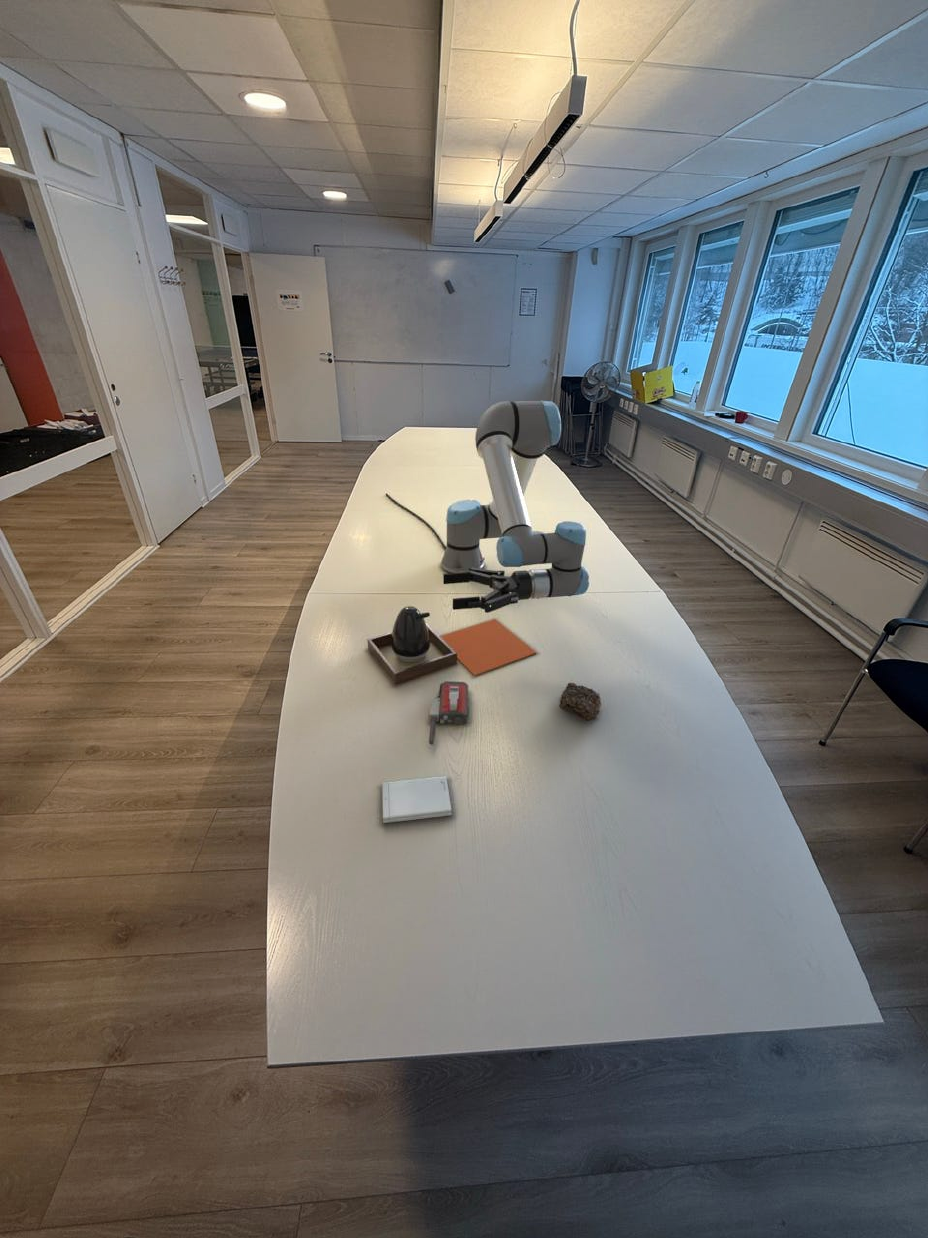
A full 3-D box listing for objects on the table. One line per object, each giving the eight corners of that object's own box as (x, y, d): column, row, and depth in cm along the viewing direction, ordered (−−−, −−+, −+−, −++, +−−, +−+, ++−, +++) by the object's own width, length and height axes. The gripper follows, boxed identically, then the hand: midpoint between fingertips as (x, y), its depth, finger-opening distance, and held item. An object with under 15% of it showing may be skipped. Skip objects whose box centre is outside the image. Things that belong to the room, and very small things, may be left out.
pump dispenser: (425, 670, 128) (424, 620, 120) (386, 665, 130) (383, 615, 122) (435, 648, 137) (434, 600, 129) (399, 643, 138) (396, 595, 131)
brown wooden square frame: (368, 649, 136) (367, 639, 134) (425, 632, 144) (425, 622, 142) (395, 685, 123) (394, 674, 121) (456, 664, 131) (457, 653, 129)
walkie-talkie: (433, 687, 123) (425, 748, 106) (432, 673, 120) (425, 733, 103) (468, 688, 123) (467, 749, 105) (469, 674, 120) (468, 734, 103)
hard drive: (446, 775, 98) (382, 781, 96) (451, 810, 91) (382, 818, 89) (446, 781, 98) (382, 787, 97) (451, 816, 91) (383, 824, 90)
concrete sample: (591, 730, 111) (595, 713, 108) (549, 713, 116) (552, 697, 113) (608, 702, 119) (612, 685, 117) (568, 687, 124) (571, 671, 121)
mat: (436, 638, 141) (436, 637, 141) (494, 620, 150) (494, 618, 150) (474, 676, 127) (474, 675, 127) (536, 653, 136) (536, 652, 136)
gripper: (543, 621, 121) (457, 629, 117) (514, 576, 141) (440, 582, 138) (546, 594, 117) (457, 601, 113) (516, 552, 138) (439, 557, 134)
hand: (447, 591), depth 125 cm, fingers open, 13 cm apart
